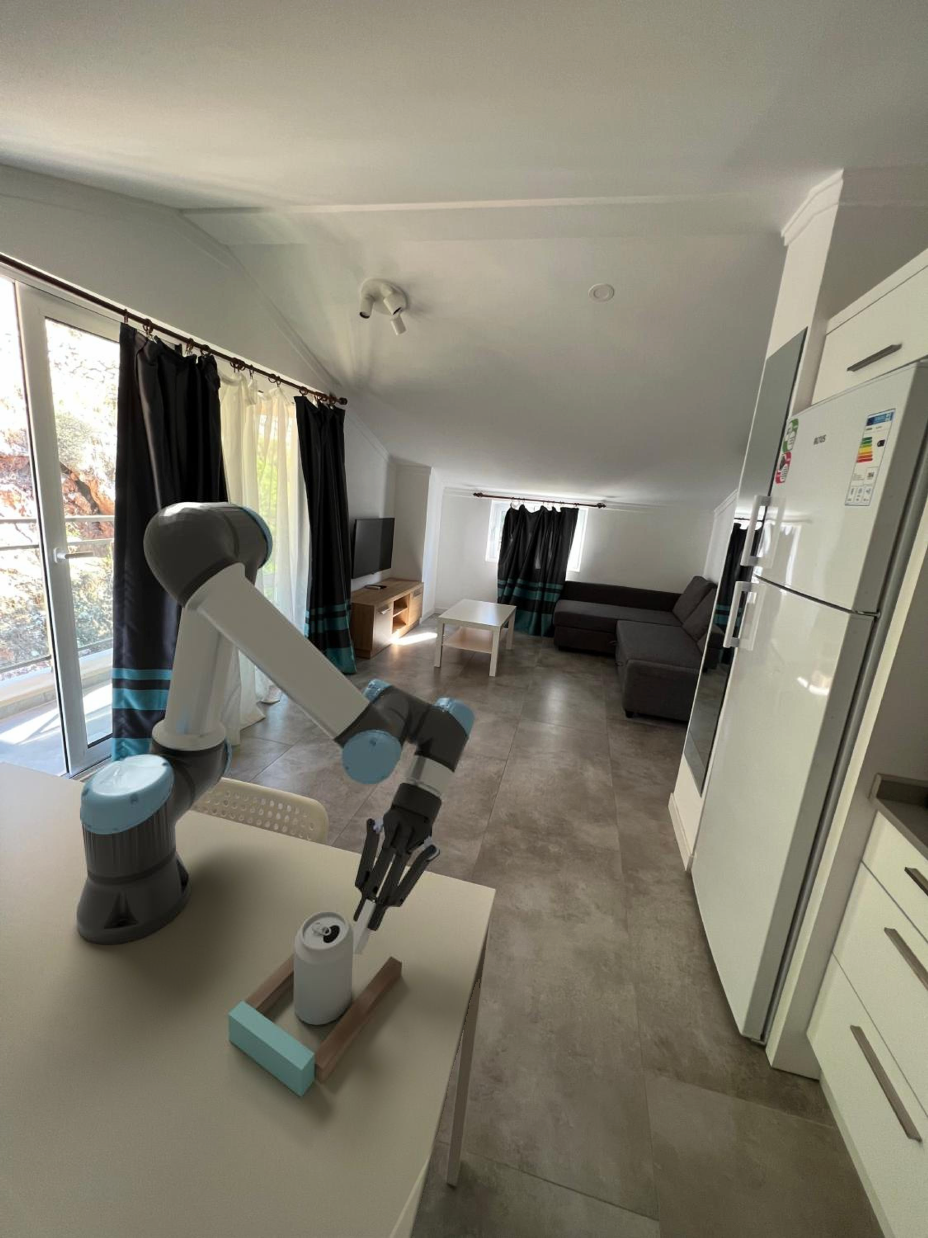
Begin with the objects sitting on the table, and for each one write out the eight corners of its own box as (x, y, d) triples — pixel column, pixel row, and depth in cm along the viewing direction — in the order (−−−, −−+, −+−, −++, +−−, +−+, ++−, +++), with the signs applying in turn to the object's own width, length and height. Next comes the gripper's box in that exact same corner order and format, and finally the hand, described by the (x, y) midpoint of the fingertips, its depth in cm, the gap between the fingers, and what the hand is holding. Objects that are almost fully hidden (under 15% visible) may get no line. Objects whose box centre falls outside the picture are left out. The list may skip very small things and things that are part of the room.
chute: (239, 1021, 64) (239, 1006, 63) (327, 932, 78) (327, 920, 77) (322, 1085, 58) (322, 1069, 57) (401, 976, 72) (402, 963, 71)
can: (334, 1038, 63) (337, 960, 60) (281, 1020, 64) (282, 943, 62) (360, 985, 70) (363, 913, 67) (312, 970, 71) (314, 899, 69)
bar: (229, 1040, 61) (228, 1014, 60) (242, 1025, 63) (242, 1000, 62) (301, 1097, 56) (301, 1070, 55) (314, 1080, 58) (314, 1053, 57)
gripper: (464, 809, 81) (401, 974, 70) (397, 784, 86) (330, 933, 76) (450, 796, 75) (380, 974, 64) (380, 770, 81) (304, 929, 70)
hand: (353, 951), depth 70 cm, fingers closed
